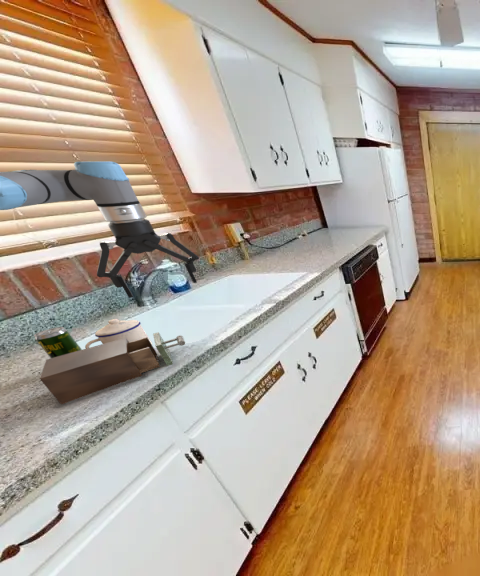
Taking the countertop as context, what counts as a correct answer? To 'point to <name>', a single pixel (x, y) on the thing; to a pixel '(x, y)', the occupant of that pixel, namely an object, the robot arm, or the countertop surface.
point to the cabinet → (89, 370)
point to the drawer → (151, 352)
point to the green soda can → (57, 342)
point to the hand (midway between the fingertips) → (164, 288)
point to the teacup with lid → (119, 332)
